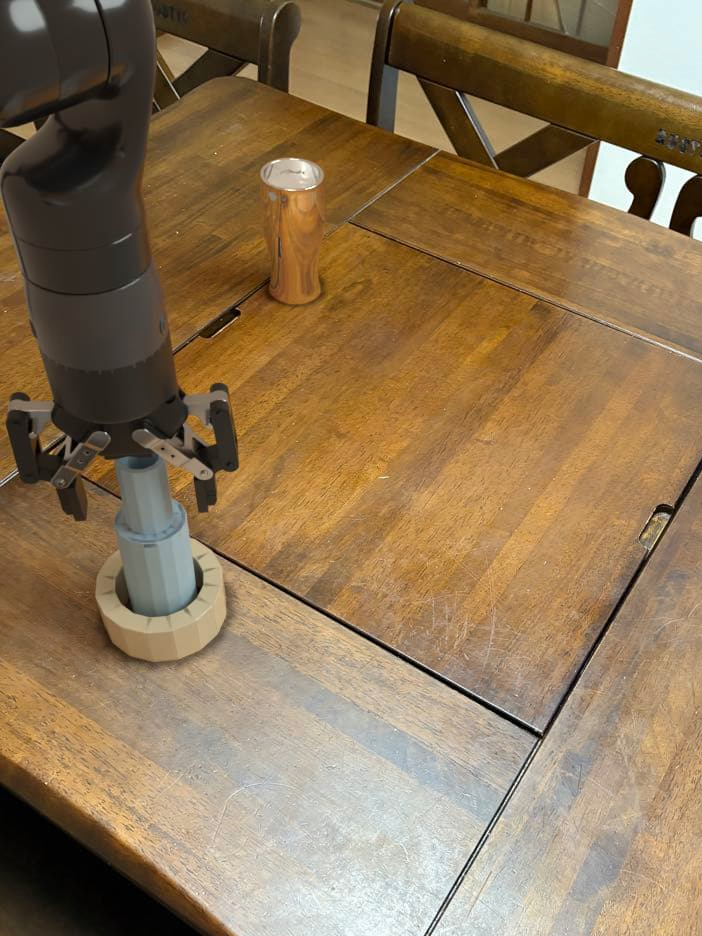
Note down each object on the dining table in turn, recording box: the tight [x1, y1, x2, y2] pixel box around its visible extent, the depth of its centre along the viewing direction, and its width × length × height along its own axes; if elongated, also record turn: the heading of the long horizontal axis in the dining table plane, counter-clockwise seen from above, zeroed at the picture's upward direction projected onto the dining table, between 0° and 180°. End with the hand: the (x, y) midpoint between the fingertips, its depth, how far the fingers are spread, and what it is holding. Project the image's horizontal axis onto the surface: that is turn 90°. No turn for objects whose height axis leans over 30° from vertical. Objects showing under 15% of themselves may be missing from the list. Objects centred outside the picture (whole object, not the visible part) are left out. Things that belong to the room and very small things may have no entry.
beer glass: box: [259, 157, 327, 305], centre depth 100 cm, size 7×7×15 cm
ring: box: [94, 537, 227, 663], centre depth 75 cm, size 10×10×5 cm
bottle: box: [113, 453, 199, 617], centre depth 70 cm, size 5×5×17 cm
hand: (143, 508), depth 66 cm, fingers open, 8 cm apart
